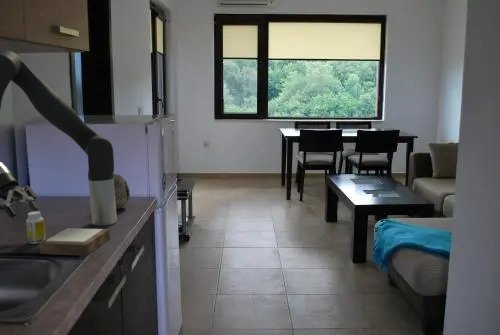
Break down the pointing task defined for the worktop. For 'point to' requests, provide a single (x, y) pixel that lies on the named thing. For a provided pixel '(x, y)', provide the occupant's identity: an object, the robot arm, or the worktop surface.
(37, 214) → the supplement bottle
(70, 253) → the walnut stand
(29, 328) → the worktop surface
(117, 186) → the decorative egg
